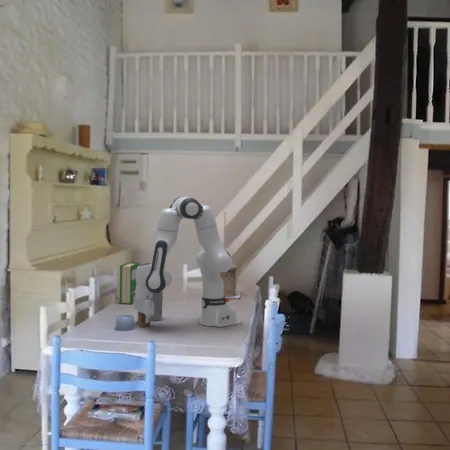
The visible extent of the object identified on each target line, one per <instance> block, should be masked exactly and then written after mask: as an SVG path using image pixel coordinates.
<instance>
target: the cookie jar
mask: <svg viewBox="0 0 450 450" xmlns="http://www.w3.org/2000/svg"><path fill="white" fill-rule="evenodd" d="M226 252H227V254H228V255H229V256H230V257H231V254H230V253H229V252H228V251H227V250H226ZM231 258H232V257H231ZM237 270H238V266H236V265H234V263H232V266H231V268H230V270H228V271H227V272H222V273H220V276H221V279H222V280H223V283H224V293H223V297H225V298H229V299H230V300H231V299H232V300H239V299H240V298H241V291H239V290H237V277H236V276H237V275H236V274H237V272H236V271H237Z"/></svg>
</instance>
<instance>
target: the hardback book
mask: <svg viewBox="0 0 450 450" xmlns="http://www.w3.org/2000/svg"><path fill="white" fill-rule="evenodd" d="M139 265H140V262H132V261H131V262H128V261H127V262H125V263H124V264H123V263H122V264H121V265H119V266H120V267H119V305H123V304H129V305H134V296H133V292H134V291H136V285H137V283H136V271H137V267H138V266H139Z"/></svg>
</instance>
